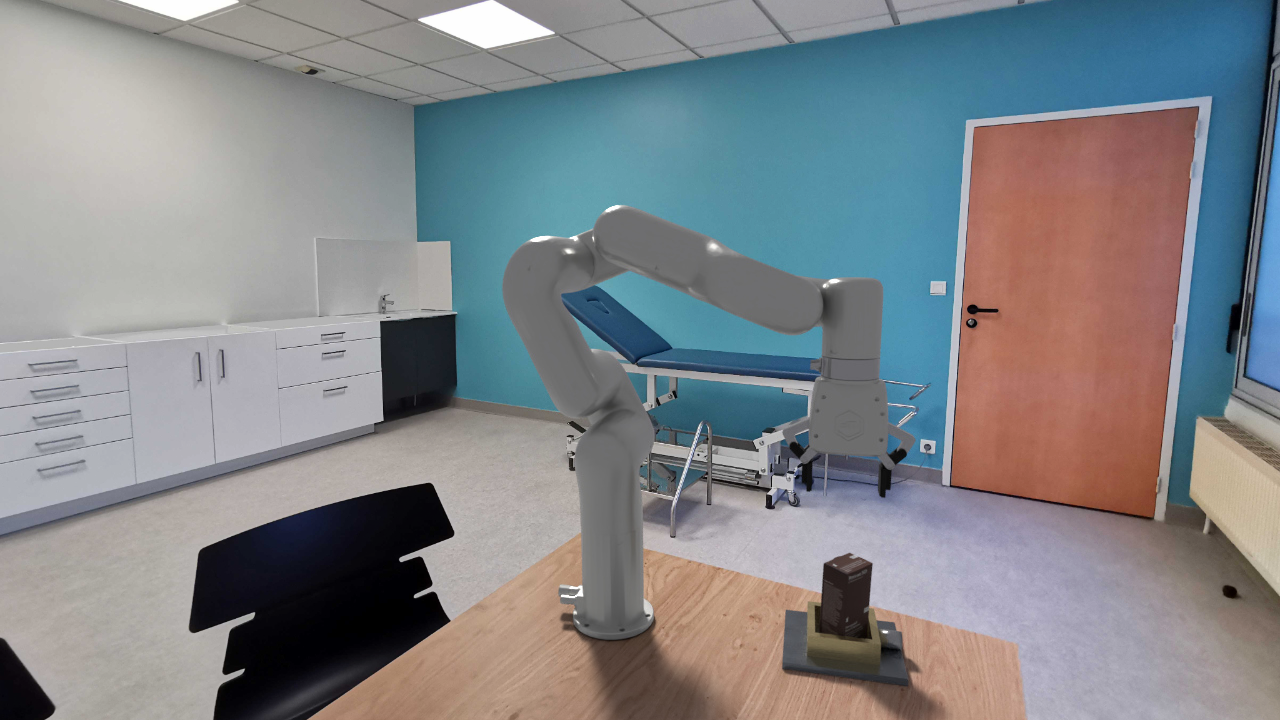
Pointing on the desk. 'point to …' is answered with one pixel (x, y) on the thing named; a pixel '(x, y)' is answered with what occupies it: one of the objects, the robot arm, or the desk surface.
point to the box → (846, 596)
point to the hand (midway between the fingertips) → (844, 491)
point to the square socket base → (843, 649)
